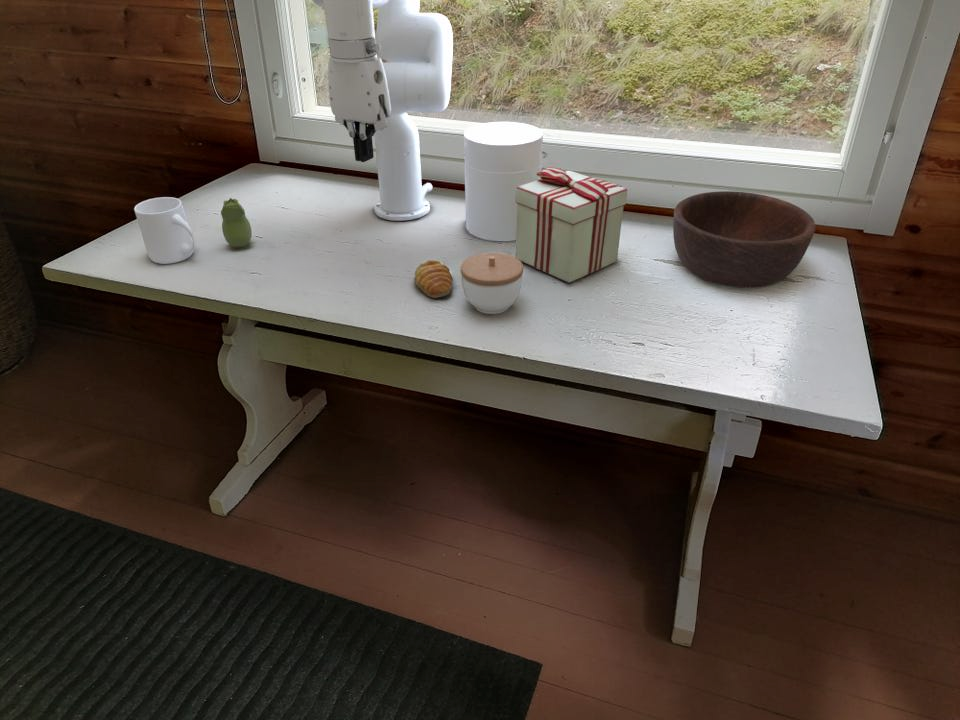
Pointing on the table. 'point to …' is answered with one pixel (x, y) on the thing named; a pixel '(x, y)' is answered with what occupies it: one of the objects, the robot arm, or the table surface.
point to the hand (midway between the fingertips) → (364, 159)
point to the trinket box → (492, 281)
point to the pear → (235, 224)
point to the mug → (165, 230)
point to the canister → (498, 175)
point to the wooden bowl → (740, 237)
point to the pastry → (434, 279)
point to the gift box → (568, 223)
